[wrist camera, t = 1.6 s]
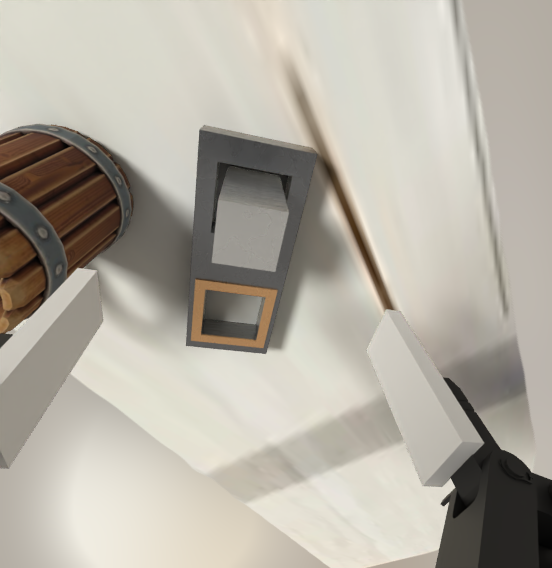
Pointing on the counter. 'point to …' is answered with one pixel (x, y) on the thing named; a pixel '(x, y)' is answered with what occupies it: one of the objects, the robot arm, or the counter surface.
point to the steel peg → (250, 220)
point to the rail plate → (204, 273)
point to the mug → (53, 213)
